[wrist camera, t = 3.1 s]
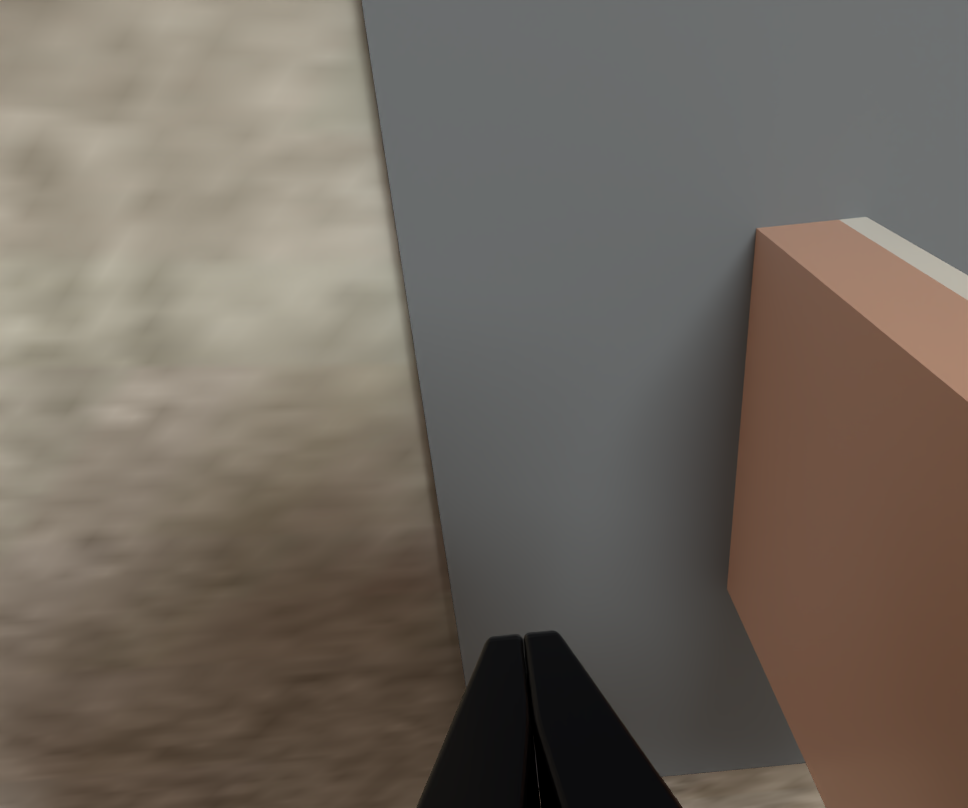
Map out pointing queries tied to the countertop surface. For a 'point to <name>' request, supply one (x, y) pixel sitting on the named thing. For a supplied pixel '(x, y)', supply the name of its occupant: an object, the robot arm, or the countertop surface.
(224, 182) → the countertop surface
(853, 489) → the tile
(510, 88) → the mat
